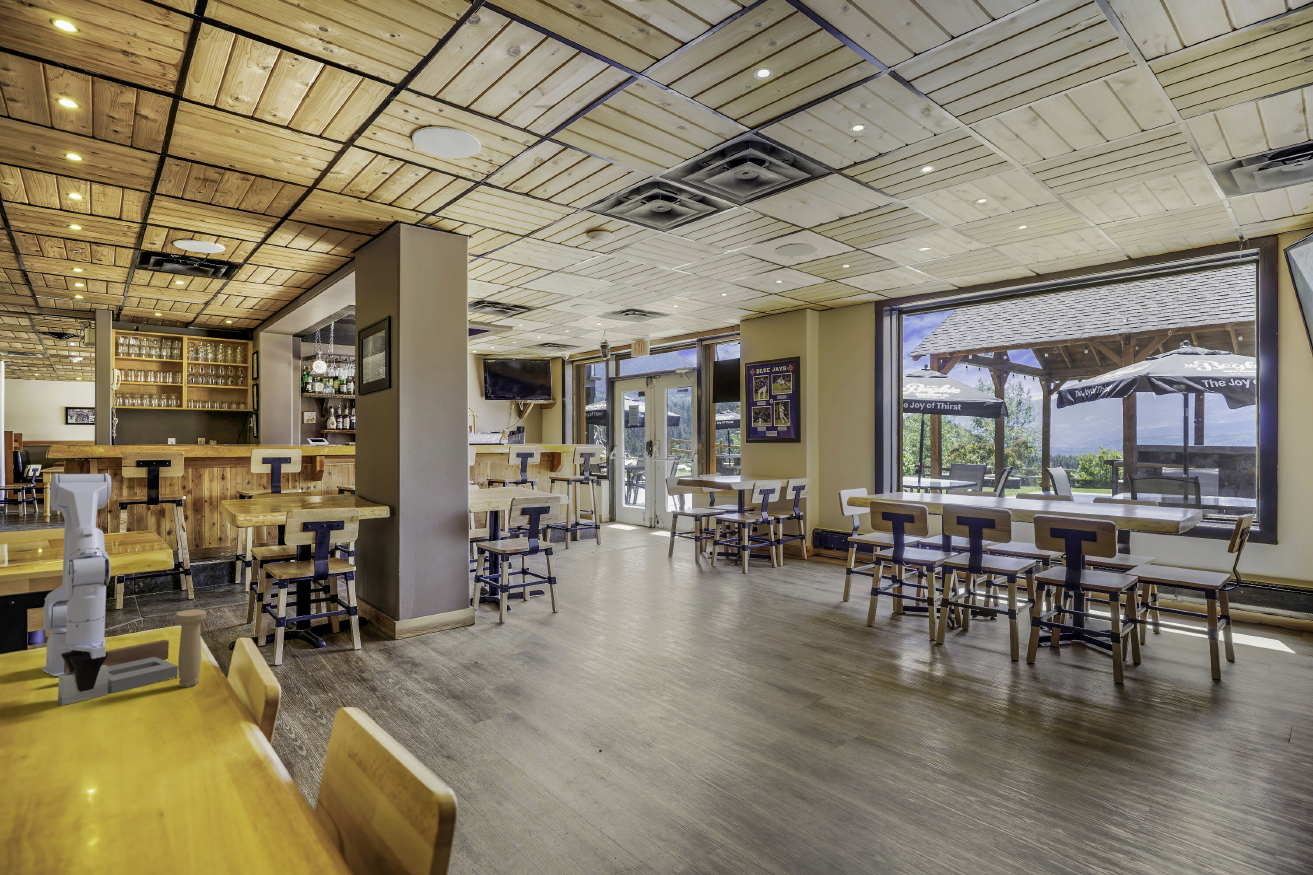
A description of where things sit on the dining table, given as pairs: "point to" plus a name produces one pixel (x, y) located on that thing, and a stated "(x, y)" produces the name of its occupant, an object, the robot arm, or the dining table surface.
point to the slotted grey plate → (139, 673)
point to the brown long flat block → (135, 653)
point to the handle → (190, 646)
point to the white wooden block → (70, 690)
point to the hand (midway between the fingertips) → (83, 688)
